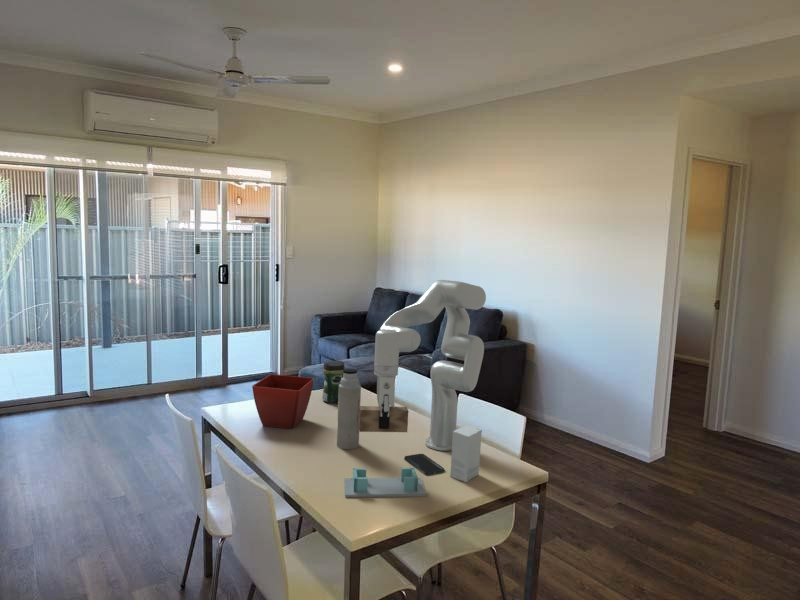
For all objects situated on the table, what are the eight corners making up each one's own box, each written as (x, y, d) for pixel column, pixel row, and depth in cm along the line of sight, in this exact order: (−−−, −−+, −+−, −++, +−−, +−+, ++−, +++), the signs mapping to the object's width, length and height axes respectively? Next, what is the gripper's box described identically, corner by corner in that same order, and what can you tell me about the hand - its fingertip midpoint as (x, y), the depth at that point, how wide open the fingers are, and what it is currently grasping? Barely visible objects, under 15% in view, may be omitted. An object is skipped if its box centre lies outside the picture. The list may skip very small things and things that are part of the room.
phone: (422, 453, 196) (445, 469, 183) (422, 456, 196) (445, 472, 183) (402, 456, 193) (425, 473, 179) (402, 459, 193) (425, 476, 180)
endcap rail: (420, 479, 176) (421, 465, 176) (426, 496, 165) (427, 480, 165) (344, 480, 173) (344, 466, 173) (345, 497, 162) (345, 481, 162)
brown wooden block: (405, 427, 179) (406, 406, 179) (407, 432, 175) (408, 410, 175) (359, 427, 178) (360, 406, 177) (359, 431, 174) (360, 409, 173)
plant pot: (297, 433, 212) (299, 390, 210) (250, 428, 215) (251, 385, 213) (313, 417, 231) (314, 377, 229) (269, 413, 234) (270, 374, 232)
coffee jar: (339, 397, 261) (340, 358, 259) (346, 402, 254) (347, 362, 252) (319, 399, 256) (321, 359, 254) (326, 404, 249) (327, 363, 247)
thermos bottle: (361, 442, 206) (364, 368, 202) (355, 450, 198) (358, 373, 195) (340, 440, 207) (343, 366, 204) (333, 447, 199) (336, 371, 196)
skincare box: (463, 469, 186) (466, 424, 184) (480, 475, 182) (483, 429, 180) (449, 477, 179) (451, 430, 178) (466, 483, 175) (469, 435, 174)
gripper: (400, 376, 167) (397, 435, 169) (395, 363, 183) (392, 417, 185) (375, 375, 166) (372, 435, 168) (372, 363, 182) (370, 417, 184)
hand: (383, 425), depth 176 cm, fingers closed on brown wooden block, 4 cm apart
